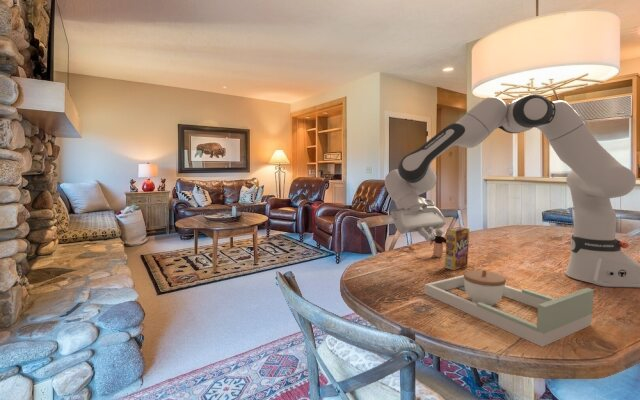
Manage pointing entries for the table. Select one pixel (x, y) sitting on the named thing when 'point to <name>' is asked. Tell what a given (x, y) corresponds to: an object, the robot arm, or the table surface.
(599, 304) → the table surface
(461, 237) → the candy box
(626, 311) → the table surface
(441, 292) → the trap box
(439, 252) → the grandmother figurine
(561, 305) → the open rectangular frame
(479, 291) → the lidded jar
